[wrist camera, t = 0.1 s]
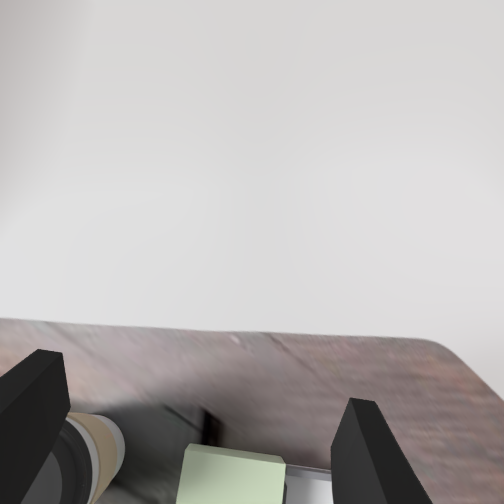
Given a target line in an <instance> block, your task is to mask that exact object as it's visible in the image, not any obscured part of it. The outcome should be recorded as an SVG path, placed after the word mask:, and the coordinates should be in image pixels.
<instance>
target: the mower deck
mask: <svg viewBox="0 0 504 504" xmlns="http://www.w3.org/2000/svg"><path fill="white" fill-rule="evenodd" d="M176 504H333V496H332V480H331V470H326V469H319V468H312V467H305V466H298V465H291V464H285V462H284V461H283V459H282V457H281V456H276V455H269V454H262V453H255V452H248V451H241V450H234V449H227V448H220V447H213V446H206V445H199V444H192V443H190V444H189V445H188V447H187V448H186V449H185V454H184V460H183V465H182V471H181V477H180V483H179V489H178V495H177V501H176Z"/></svg>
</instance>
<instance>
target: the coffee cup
mask: <svg viewBox="0 0 504 504" xmlns="http://www.w3.org/2000/svg"><path fill="white" fill-rule="evenodd" d="M124 454H125V443H124V438H123V435H122V433H121V431H120V429H119V427H118V426H117V425H116V424H115V423H114V422H113V421H112V420H110V419H108V418H106V417H104V416H101V415H89V414H84V413H70V412H68V415H67V417H66V419H65V422H64V424H63V426H62V429H61V431H60V433H59V435H58V437H57V440H56V442H55V444H54V446H53V448H52V450H51V452H50V454H49V455H48V457H47V459H46V461H45V462H44V464H43V466H42V468H41V469H40V471H39V473H38V475H37V476H36V478H35V480H34V482H33V483H32V485H31V487H30V488H29V490H28V492H27V494H26V495H25V497H24V499H23V500H22V502H21V504H94V503H95V502H96V500H97V499H98V498H99V497H100V495H101V494H102V493H103V492H104V491H105V489H106V488H107V486H108V485H109V483H110V481H111V480H112V479H113V478H114V476H115V475H116V474H117V472H118V471H119V469H120V467H121V465H122V462H123V459H124Z"/></svg>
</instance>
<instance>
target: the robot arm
mask: <svg viewBox="0 0 504 504" xmlns="http://www.w3.org/2000/svg"><path fill="white" fill-rule="evenodd" d="M70 408H71V406H70V399H69V393H68V386H67V380H66V373H65V367H64V360H63V354H62V353H61V352H54V351H48V350H41V349H37V350H36V351H35V352H33V353H32V354H30V355H29V356H28V357H26V358H25V359H24V360H22V361H21V362H20V363H18V364H17V365H16V366H14V367H13V368H12V369H11V370H9V371H8V372H7V373H5V374H4V375H3V376H1V377H0V504H21V502H22V500H23V499H24V497H25V495H26V494H27V492H28V490H29V488H30V487H31V485H32V483H33V482H34V480H35V478H36V476H37V475H38V473H39V471H40V469H41V468H42V466H43V464H44V462H45V461H46V459H47V457H48V455H49V454H50V452H51V450H52V448H53V446H54V444H55V442H56V440H57V437H58V435H59V433H60V431H61V429H62V426H63V424H64V422H65V419H66V417H67V415H68V412H69V410H70ZM331 480H332V496H333V504H433V503H432V501H431V500H430V498H429V496H428V495H427V493H426V491H425V490H424V488H423V486H422V485H421V483H420V481H419V480H418V478H417V476H416V475H415V473H414V471H413V470H412V468H411V466H410V464H409V463H408V461H407V459H406V457H405V455H404V454H403V452H402V450H401V448H400V446H399V445H398V443H397V441H396V439H395V437H394V436H393V434H392V432H391V430H390V428H389V426H388V424H387V422H386V421H385V419H384V417H383V415H382V413H381V411H380V409H379V407H378V405H377V404H376V403H375V401H369V400H363V399H356V398H350V399H349V402H348V404H347V407H346V409H345V412H344V414H343V417H342V420H341V422H340V425H339V427H338V430H337V433H336V435H335V438H334V440H333V443H332V445H331Z"/></svg>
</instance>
